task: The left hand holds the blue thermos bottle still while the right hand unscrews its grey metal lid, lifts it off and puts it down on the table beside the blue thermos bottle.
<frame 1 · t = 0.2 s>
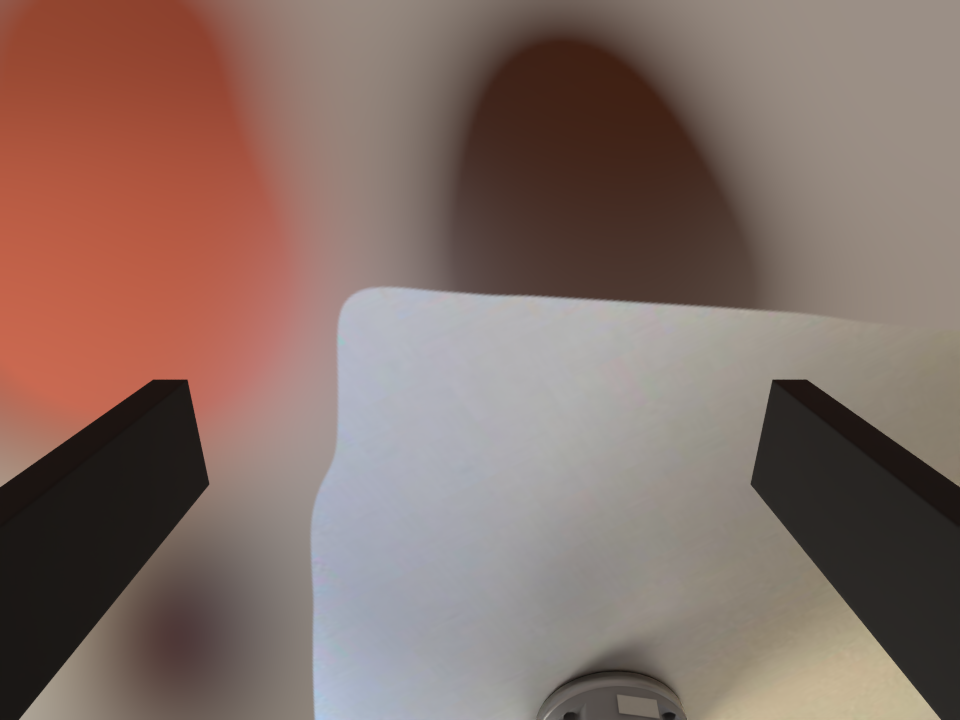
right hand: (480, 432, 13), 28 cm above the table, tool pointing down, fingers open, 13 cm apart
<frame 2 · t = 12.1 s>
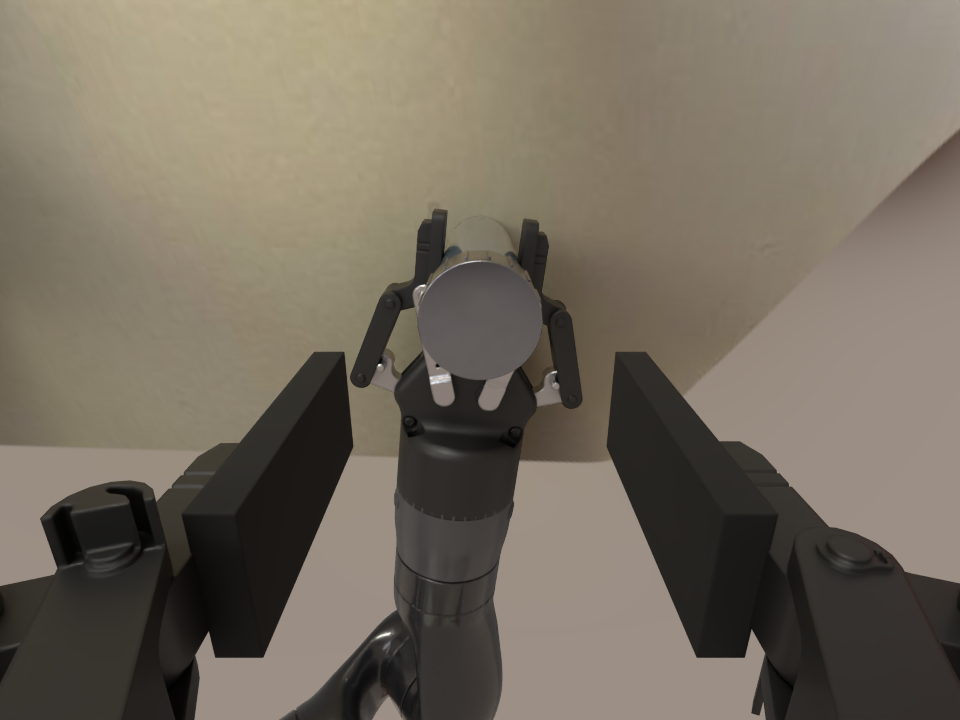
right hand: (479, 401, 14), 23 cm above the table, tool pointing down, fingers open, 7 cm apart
lid: (480, 320, 21), point 16 cm above the table, screwed on, not yet turned
blue thermos bottle: (480, 248, 36), on the table, touching left hand
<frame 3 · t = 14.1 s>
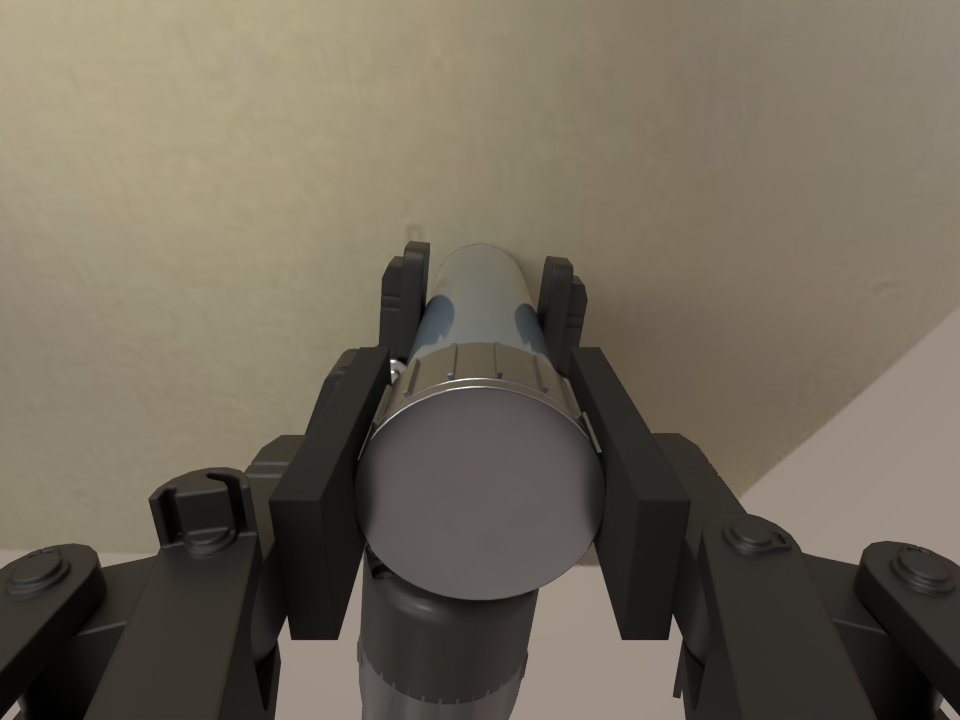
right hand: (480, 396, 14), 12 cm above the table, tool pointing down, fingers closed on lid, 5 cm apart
lid: (479, 491, 10), point 16 cm above the table, screwed on, not yet turned, touching right hand
blue thermos bottle: (479, 289, 25), on the table, touching left hand
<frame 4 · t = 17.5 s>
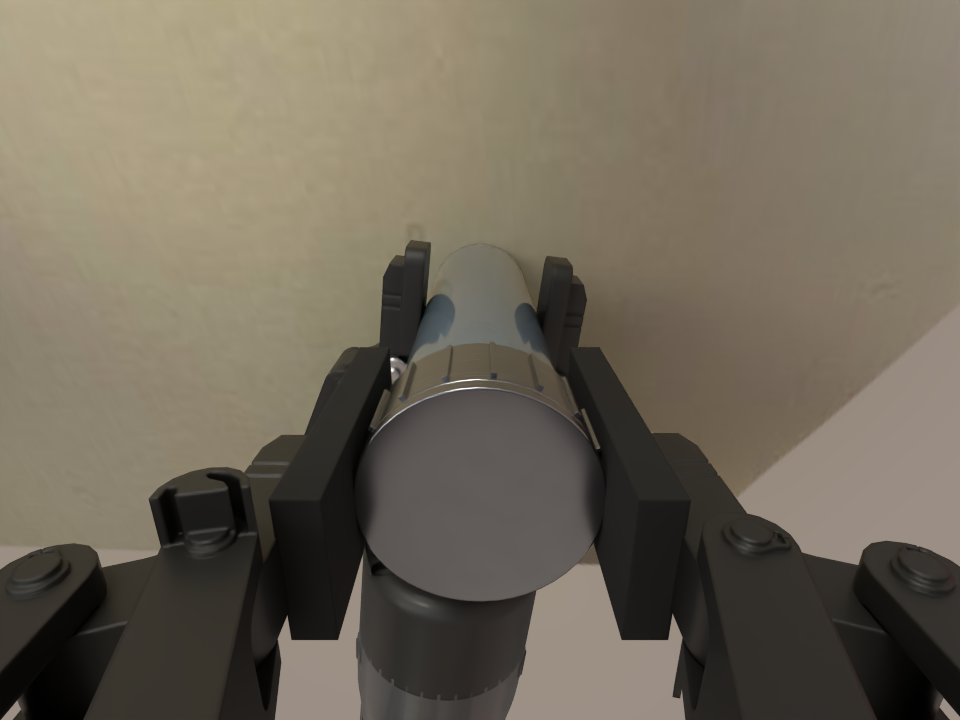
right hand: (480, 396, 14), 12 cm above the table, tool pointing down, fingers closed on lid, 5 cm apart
lid: (479, 492, 10), point 16 cm above the table, turned 109° so far, risen 0.2 cm, still on its thread, touching right hand
blue thermos bottle: (479, 289, 26), on the table, touching left hand
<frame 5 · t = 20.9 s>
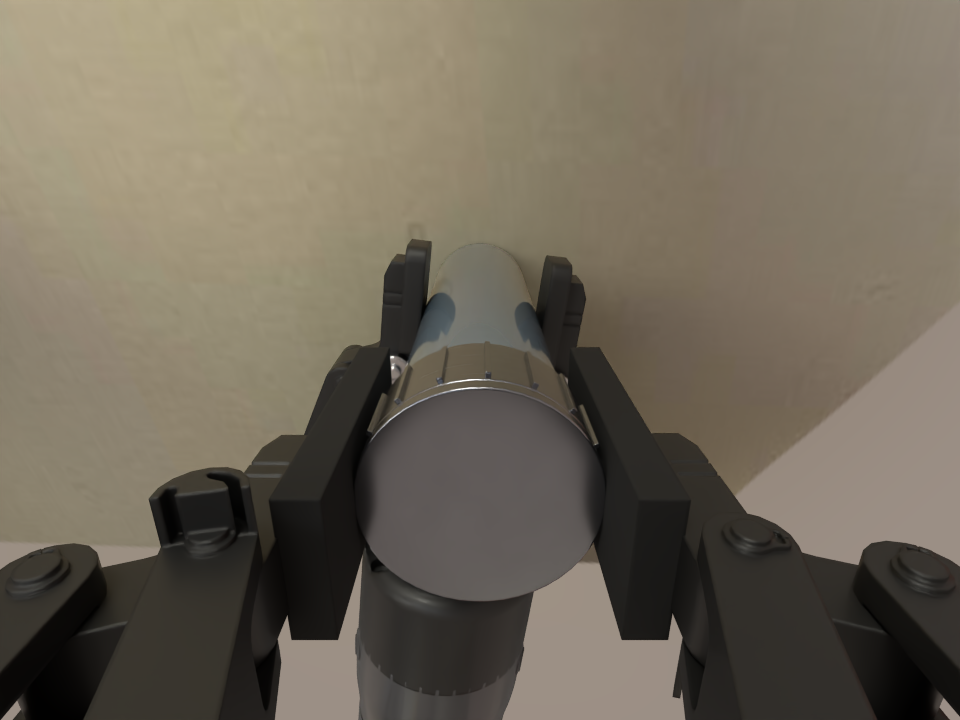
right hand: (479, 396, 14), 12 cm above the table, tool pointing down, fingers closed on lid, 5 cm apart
lid: (479, 492, 10), point 16 cm above the table, turned 217° so far, risen 0.4 cm, still on its thread, touching right hand
blue thermos bottle: (479, 288, 26), on the table, touching left hand
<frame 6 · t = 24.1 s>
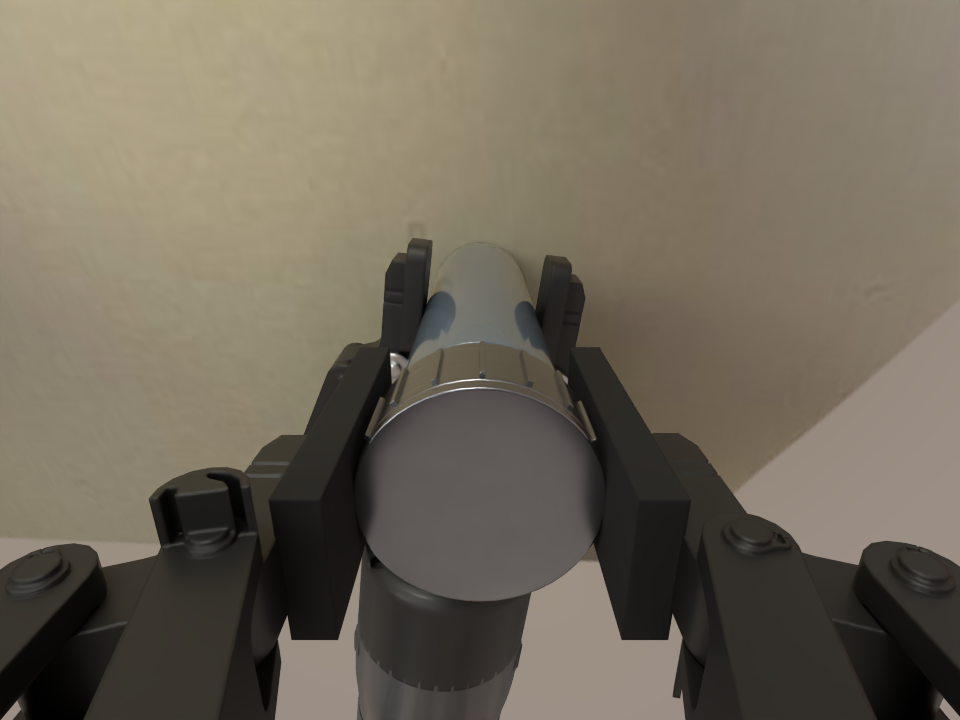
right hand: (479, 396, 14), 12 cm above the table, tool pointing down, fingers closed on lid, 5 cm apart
lid: (479, 492, 10), point 17 cm above the table, turned 326° so far, risen 0.5 cm, still on its thread, touching right hand
blue thermos bottle: (479, 287, 26), on the table, touching left hand
when the right hand's fingers open (0 cm above the table, at t = 31.3 s): lid drops 3 cm, point 2 cm above the table.
when the left hand's fingers open (6 cm above the table, at t = 31.8 s): blue thermos bottle stays where it is, on the table.
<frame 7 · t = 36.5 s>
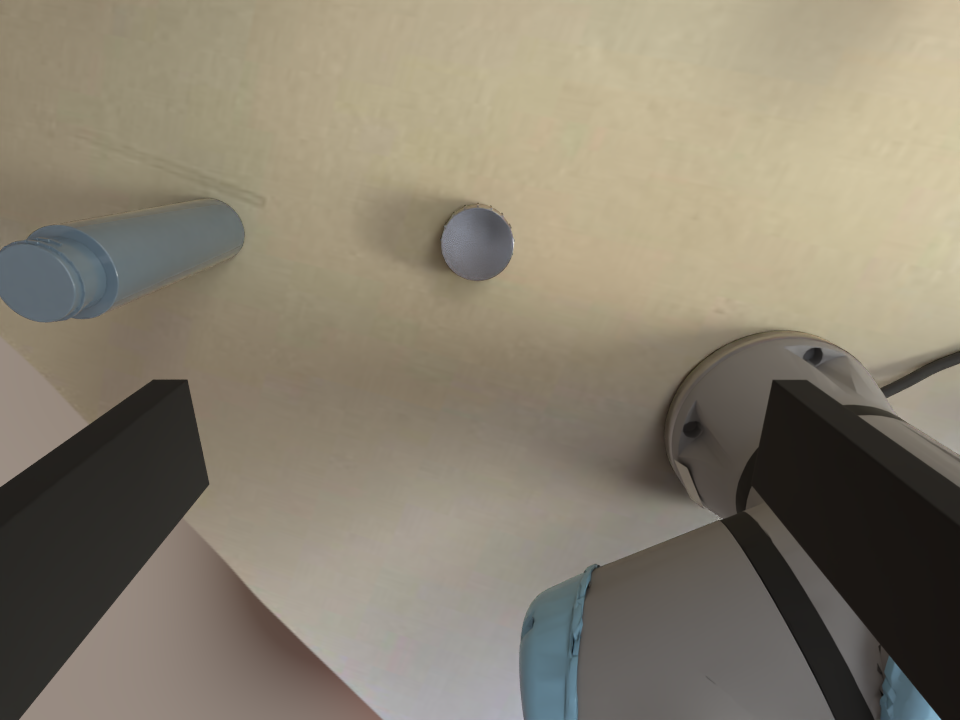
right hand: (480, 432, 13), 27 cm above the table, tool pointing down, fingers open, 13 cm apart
lid: (477, 244, 35), point 2 cm above the table, off its thread
blue thermos bottle: (213, 230, 37), on the table
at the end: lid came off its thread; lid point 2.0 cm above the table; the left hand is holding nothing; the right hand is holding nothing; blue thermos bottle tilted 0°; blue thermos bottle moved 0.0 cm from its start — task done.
